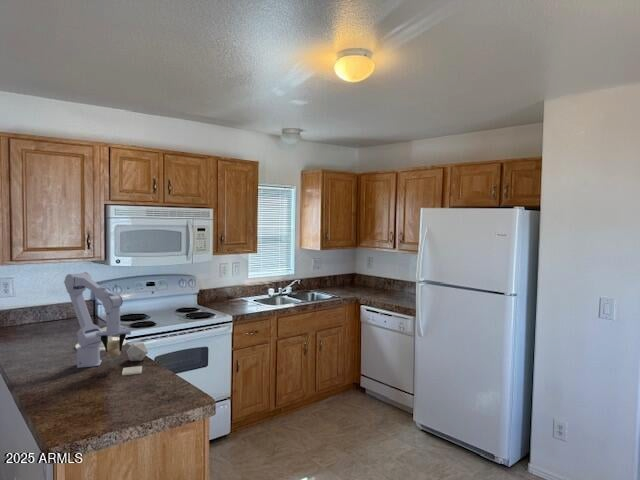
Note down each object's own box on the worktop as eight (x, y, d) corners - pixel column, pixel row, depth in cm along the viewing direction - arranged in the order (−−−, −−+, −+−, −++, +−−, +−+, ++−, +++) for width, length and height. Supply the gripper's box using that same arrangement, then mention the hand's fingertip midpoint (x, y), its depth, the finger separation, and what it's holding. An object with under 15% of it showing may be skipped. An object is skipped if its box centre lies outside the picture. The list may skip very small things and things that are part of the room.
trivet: (121, 375, 196) (121, 373, 196) (123, 369, 204) (123, 367, 204) (141, 373, 199) (141, 371, 199) (142, 367, 206) (142, 365, 206)
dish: (127, 348, 237) (126, 327, 237) (73, 354, 227) (73, 332, 226) (125, 337, 260) (124, 318, 259) (76, 342, 249) (75, 322, 248)
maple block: (107, 357, 201) (106, 344, 200) (108, 353, 205) (108, 341, 205) (119, 355, 202) (119, 342, 202) (120, 352, 207) (120, 340, 207)
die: (134, 365, 211) (147, 347, 214) (119, 355, 213) (133, 337, 215) (141, 366, 219) (153, 348, 222) (127, 356, 221) (139, 338, 223)
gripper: (94, 325, 197) (95, 355, 198) (129, 322, 202) (130, 352, 202) (96, 321, 204) (97, 350, 204) (130, 319, 208) (131, 347, 209)
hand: (113, 351), depth 204 cm, fingers closed on maple block, 5 cm apart
